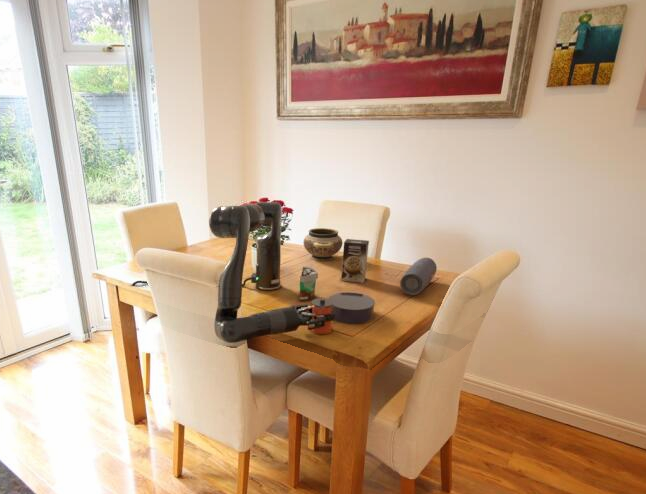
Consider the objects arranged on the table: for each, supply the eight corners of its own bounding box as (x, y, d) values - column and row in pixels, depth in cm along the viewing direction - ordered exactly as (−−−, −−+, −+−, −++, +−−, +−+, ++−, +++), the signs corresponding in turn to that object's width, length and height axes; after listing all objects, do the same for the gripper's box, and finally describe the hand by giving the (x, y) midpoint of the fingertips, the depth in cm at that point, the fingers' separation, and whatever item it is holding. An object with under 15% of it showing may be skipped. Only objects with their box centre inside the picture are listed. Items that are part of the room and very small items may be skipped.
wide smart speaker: (328, 322, 150) (328, 308, 148) (326, 304, 164) (327, 291, 162) (376, 324, 148) (377, 310, 146) (370, 306, 162) (372, 293, 160)
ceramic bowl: (334, 272, 206) (344, 240, 200) (296, 260, 208) (305, 229, 202) (337, 256, 228) (346, 228, 221) (302, 246, 230) (311, 218, 224)
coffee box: (340, 280, 187) (343, 242, 181) (343, 275, 193) (346, 238, 187) (363, 283, 184) (366, 244, 178) (365, 278, 190) (369, 239, 183)
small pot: (307, 331, 145) (308, 301, 141) (315, 323, 150) (316, 294, 146) (327, 335, 142) (328, 304, 138) (334, 327, 147) (336, 297, 143)
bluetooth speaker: (423, 300, 166) (427, 274, 162) (397, 295, 171) (400, 270, 167) (436, 281, 183) (440, 257, 180) (412, 278, 188) (415, 254, 184)
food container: (316, 303, 166) (317, 277, 162) (299, 302, 167) (300, 276, 163) (317, 291, 177) (319, 266, 173) (301, 290, 178) (302, 266, 174)
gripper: (290, 318, 132) (341, 309, 137) (270, 301, 144) (318, 293, 149) (290, 342, 135) (339, 332, 140) (270, 323, 147) (317, 314, 152)
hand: (328, 312), depth 144 cm, fingers open, 6 cm apart
